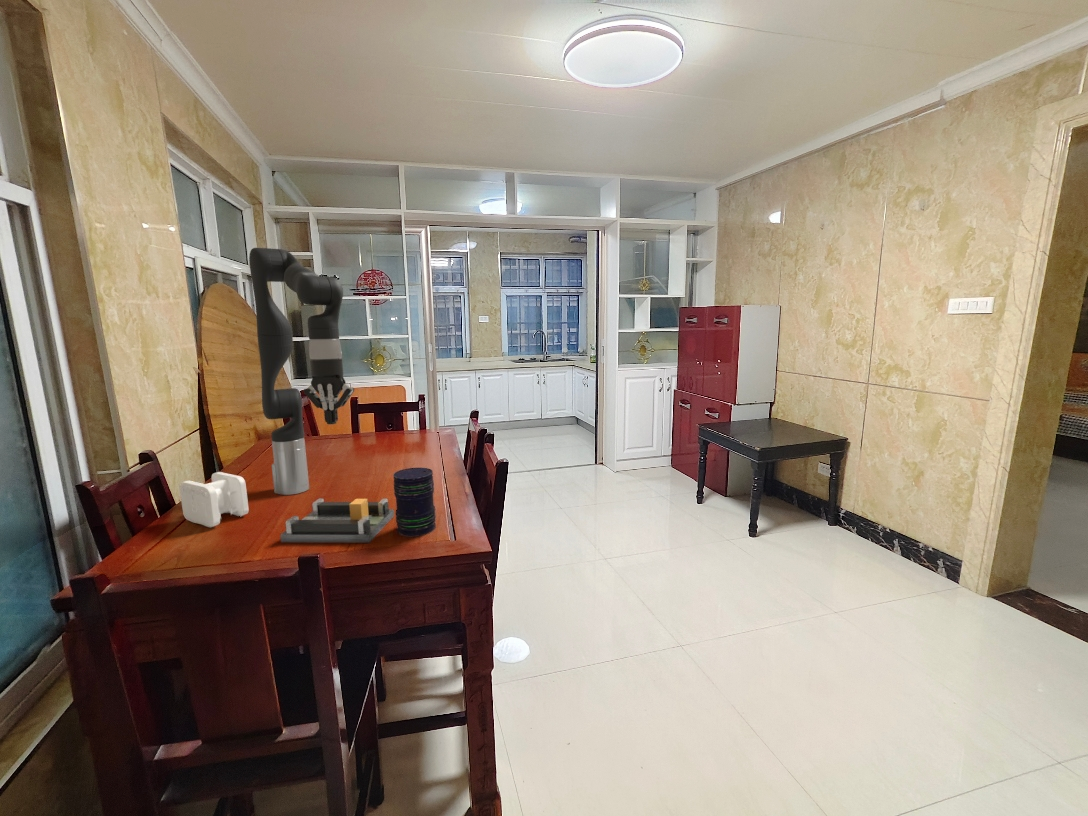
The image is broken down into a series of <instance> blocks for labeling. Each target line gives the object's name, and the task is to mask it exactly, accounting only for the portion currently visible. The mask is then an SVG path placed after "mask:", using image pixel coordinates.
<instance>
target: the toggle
mask: <svg viewBox="0 0 1088 816" xmlns="http://www.w3.org/2000/svg"><path fill="white" fill-rule="evenodd" d="M350 502H351V503H350V504H349V506H350V518H351V519H350V520H360V519H361V518H362V517H363V516H369V519H370V518H371V517H372V515H369V513H368V502H369V501H368V498H355V499H354V500H353V501H350Z"/></svg>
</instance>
